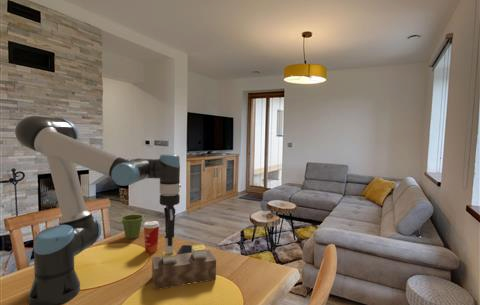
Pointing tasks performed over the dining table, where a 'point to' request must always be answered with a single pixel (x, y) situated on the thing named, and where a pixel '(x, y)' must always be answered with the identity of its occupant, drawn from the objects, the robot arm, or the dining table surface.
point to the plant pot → (132, 225)
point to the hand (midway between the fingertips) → (169, 252)
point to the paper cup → (151, 236)
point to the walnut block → (183, 270)
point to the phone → (185, 249)
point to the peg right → (198, 252)
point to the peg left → (168, 258)
